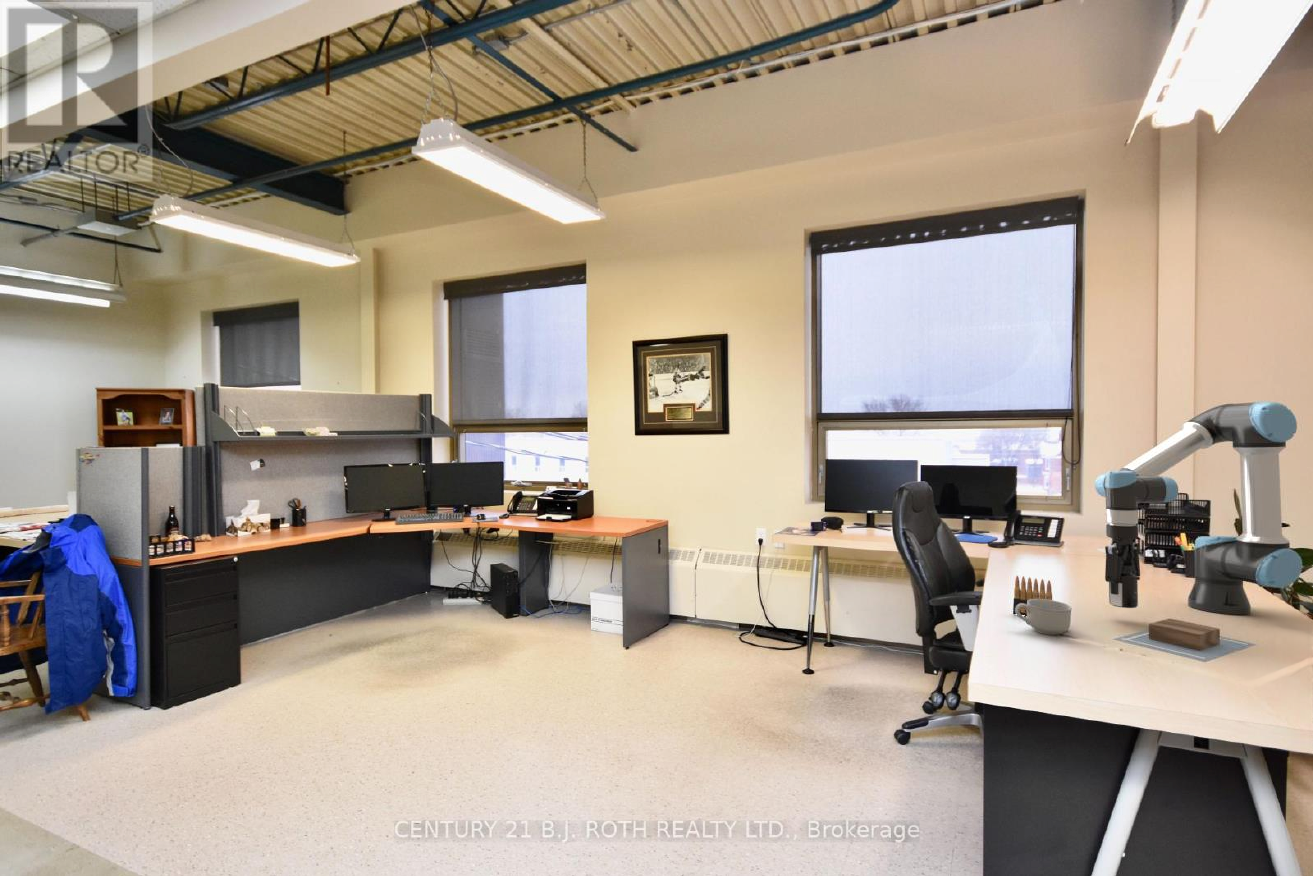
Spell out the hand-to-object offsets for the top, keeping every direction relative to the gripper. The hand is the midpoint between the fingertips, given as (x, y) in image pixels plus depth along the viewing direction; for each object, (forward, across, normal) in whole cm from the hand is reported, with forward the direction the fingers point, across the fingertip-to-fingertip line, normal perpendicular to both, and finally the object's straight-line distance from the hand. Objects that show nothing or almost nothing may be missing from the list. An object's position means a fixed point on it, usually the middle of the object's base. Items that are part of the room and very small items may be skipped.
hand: (1123, 603), depth 190 cm
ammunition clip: (+6, +16, -17) cm, 24 cm away
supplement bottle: (+1, 0, 0) cm, 1 cm away
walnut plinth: (+5, +8, +18) cm, 20 cm away
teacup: (+6, +28, -7) cm, 29 cm away
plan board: (+6, +8, +18) cm, 20 cm away
